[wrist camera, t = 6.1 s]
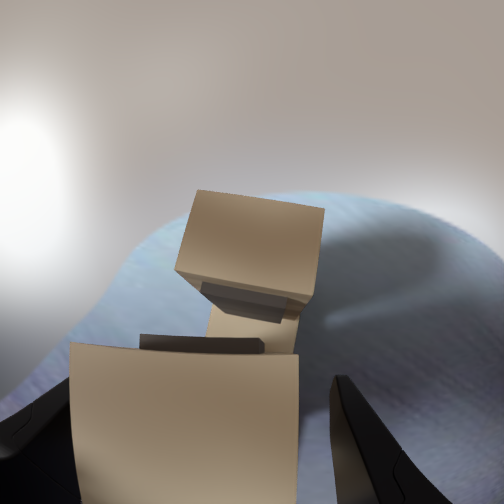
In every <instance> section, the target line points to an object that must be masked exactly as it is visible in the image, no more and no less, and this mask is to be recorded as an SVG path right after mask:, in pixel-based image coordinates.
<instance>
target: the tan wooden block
mask: <svg viewBox="0 0 504 504" xmlns="http://www.w3.org/2000/svg"><path fill="white" fill-rule="evenodd" d="M69 386H70V412H71V427H72V438H73V448H74V456H75V464H76V470H77V477H78V483H79V488H80V494H81V499H82V503H83V504H296V491H297V466H298V423H299V355H298V354H290V353H283V352H265V343H264V342H263V341H262V340H261V339H260V338H259V337H258V338H234V337H190V336H168V335H151V334H140V346H139V349H137V348H124V347H112V346H102V345H93V344H84V343H75V342H70V361H69Z"/></svg>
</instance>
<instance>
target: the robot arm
mask: <svg viewBox="0 0 504 504" xmlns="http://www.w3.org/2000/svg"><path fill="white" fill-rule="evenodd" d="M330 442H331V450H332V458H333V467H334V475H335V484H336V494H337V504H453V503H451V502H450V501H449V500H448V499H447V498H446V497H445V496H444V495H443V494H442V493H441V492H440V491H439V490H438V489H437V488H436V487H435V486H434V485H433V484H432V483H431V482H430V481H429V480H428V479H427V478H426V477H425V476H424V475H423V474H422V473H421V471H420V470H419V469H418V468H417V467H416V466H415V464H414V463H413V462H412V461H411V459H410V458H409V457H408V456H407V454H406V453H405V451H404V450H402V448H401V446H400V445H399V444H398V442H397V441H396V439H395V438H394V437H393V435H392V434H391V433H390V431H389V430H388V429H387V427H386V426H385V425H384V423H383V422H382V421H381V419H380V418H379V417H378V415H377V414H376V413H375V411H374V410H373V409H372V407H371V406H370V405H369V403H368V402H367V401H366V399H365V398H364V397H363V395H362V394H361V393H360V391H359V390H358V389H357V387H356V386H355V385H354V383H353V382H352V380H351V379H350V378H349V377H348V376H347V375H335V376H334V379H333V382H332V386H331V389H330ZM80 502H81V494H80V488H79V483H78V477H77V470H76V464H75V456H74V448H73V438H72V427H71V412H70V386H69V377H68V378H66V379H65V380H64V381H62V382H61V383H59V384H58V385H56V386H55V387H53V388H52V389H51V390H49V391H48V392H46V393H45V394H43V395H42V396H40V397H39V398H38V399H36V400H35V401H33V403H30V404H29V405H27V406H26V407H24V408H23V409H21V410H20V411H18V412H17V413H15V414H14V415H12V416H10V417H8V418H7V419H5V420H3V421H1V422H0V504H80Z"/></svg>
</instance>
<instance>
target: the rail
mask: <svg viewBox="0 0 504 504" xmlns="http://www.w3.org/2000/svg"><path fill="white" fill-rule="evenodd" d="M324 211H325V209H324V208H318V207H312V206H307V205H301V204H295V203H288V202H282V201H276V200H269V199H263V198H256V197H249V196H242V195H235V194H228V193H220V192H212V191H205V190H197V193H196V196H195V199H194V202H193V206H192V209H191V212H190V215H189V219H188V222H187V226H186V229H185V232H184V236H183V239H182V243H181V247H180V250H179V254H178V257H177V261H176V265H175V269H174V270H175V271H176V272H177V273H178V274H179V275H181V276H182V277H183V278H184V279H185V280H186V281H187V282H189V283H190V284H191V285H192V286H193V287H194V288H196V289H197V290H198V291H199V292H200V293H201V294H202V295H204V296H205V297H206V298H207V299H208V300H209V301H211V302H212V303H213V305H212V309H211V314H210V318H209V323H208V327H207V332H206V336H205V337H234V338H258V337H259V338H260V339H261V340H262V341H263V342H264V343H265V352H283V353H290V354H293V350H294V345H295V339H296V334H297V329H298V323H299V318H300V313H301V311H302V310H303V309H304V307H305V306H306V305H307V303H308V302H309V301H310V299H311V298H312V296H313V293H314V286H315V280H316V273H317V266H318V259H319V251H320V244H321V236H322V228H323V220H324Z"/></svg>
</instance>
